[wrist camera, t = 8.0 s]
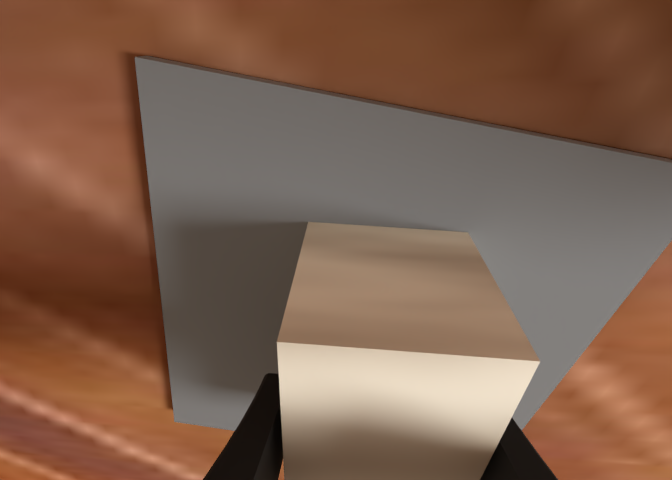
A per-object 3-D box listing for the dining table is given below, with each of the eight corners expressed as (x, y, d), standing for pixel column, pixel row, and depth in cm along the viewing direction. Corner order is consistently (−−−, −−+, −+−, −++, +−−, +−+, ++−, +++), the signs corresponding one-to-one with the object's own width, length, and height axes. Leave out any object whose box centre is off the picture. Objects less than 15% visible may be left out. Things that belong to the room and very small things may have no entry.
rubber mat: (705, 166, 10) (724, 173, 10) (486, 457, 18) (490, 469, 18) (146, 55, 9) (134, 56, 9) (179, 410, 17) (174, 421, 17)
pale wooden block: (418, 408, 15) (442, 552, 11) (306, 399, 16) (287, 538, 11) (467, 232, 11) (540, 361, 7) (308, 221, 11) (277, 342, 7)
